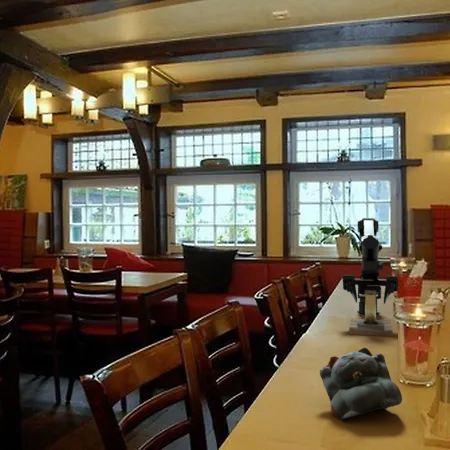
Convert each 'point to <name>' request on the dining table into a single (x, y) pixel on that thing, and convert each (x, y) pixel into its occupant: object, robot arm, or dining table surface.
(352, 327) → the walnut eye plate
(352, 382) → the lucky cat figurine
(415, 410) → the dining table surface
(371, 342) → the dining table surface
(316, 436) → the dining table surface
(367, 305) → the tan cylinder
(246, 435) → the dining table surface
